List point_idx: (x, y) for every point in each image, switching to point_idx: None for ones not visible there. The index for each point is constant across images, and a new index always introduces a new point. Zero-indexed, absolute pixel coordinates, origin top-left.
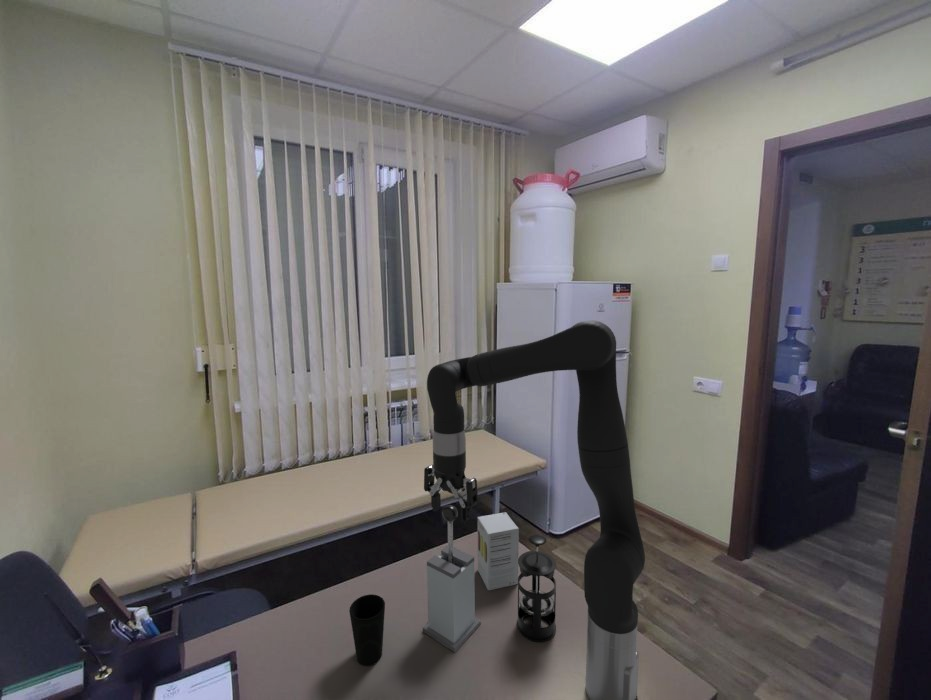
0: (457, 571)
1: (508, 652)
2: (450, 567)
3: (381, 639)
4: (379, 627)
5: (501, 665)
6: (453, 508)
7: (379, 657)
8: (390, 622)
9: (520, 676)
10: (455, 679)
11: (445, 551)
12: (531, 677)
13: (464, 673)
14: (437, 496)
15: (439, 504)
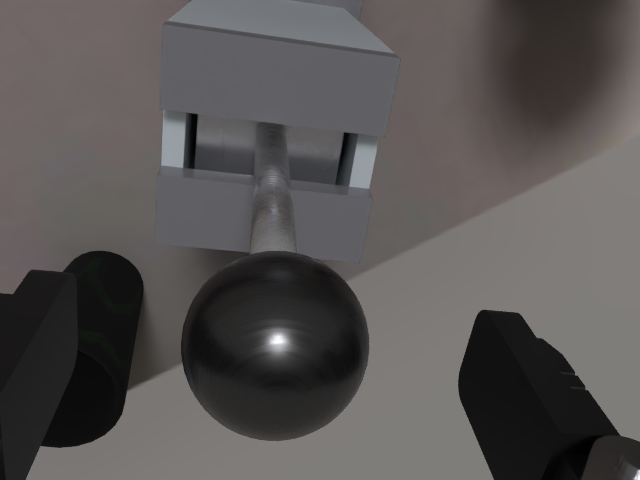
0: (366, 227)
1: (500, 60)
2: (313, 221)
3: (134, 312)
4: (130, 358)
5: (492, 118)
6: (334, 391)
7: (142, 287)
8: (51, 157)
9: (557, 124)
10: (380, 225)
11: (193, 105)
12: (590, 111)
13: (396, 197)
14: (12, 447)
15: (56, 313)
